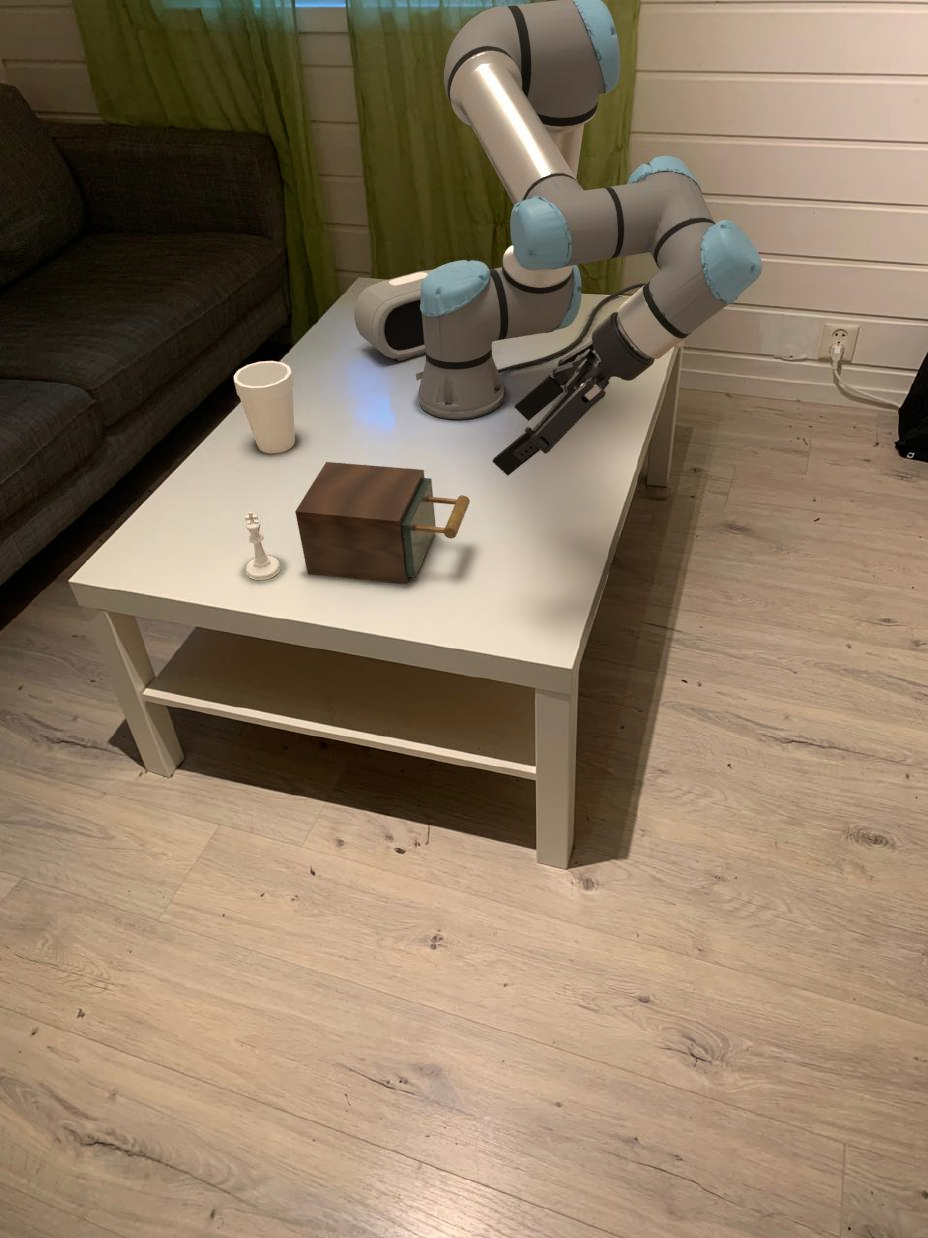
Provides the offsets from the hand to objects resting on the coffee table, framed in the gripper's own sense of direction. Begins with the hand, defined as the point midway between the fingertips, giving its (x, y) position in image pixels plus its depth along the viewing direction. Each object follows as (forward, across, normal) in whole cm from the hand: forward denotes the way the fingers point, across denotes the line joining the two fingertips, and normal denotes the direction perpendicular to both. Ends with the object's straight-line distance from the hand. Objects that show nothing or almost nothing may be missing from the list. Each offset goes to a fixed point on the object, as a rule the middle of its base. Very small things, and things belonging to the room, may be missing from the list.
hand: (511, 439), depth 129 cm
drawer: (+26, 0, -2) cm, 26 cm away
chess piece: (+40, -7, +10) cm, 42 cm away
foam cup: (+48, +27, +18) cm, 58 cm away
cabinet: (+30, 0, 0) cm, 30 cm away
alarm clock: (+38, +66, +8) cm, 77 cm away
